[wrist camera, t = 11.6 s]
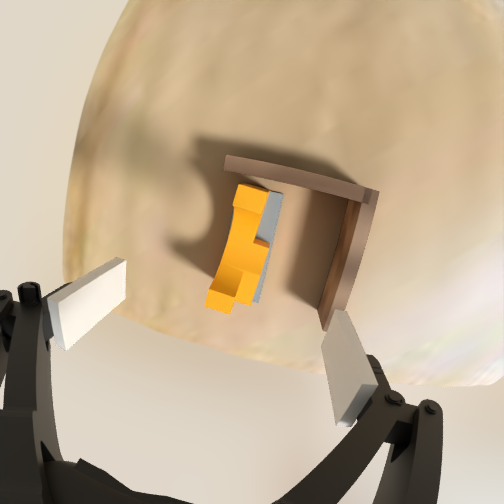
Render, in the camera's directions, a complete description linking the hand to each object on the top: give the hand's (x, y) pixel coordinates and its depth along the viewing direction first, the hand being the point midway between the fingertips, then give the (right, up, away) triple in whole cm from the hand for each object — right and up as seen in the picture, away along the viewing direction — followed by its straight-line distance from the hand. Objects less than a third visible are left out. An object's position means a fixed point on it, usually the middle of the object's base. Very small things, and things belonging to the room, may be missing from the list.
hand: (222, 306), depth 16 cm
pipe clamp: (+2, +4, +15) cm, 16 cm away
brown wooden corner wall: (+6, +4, +15) cm, 16 cm away
